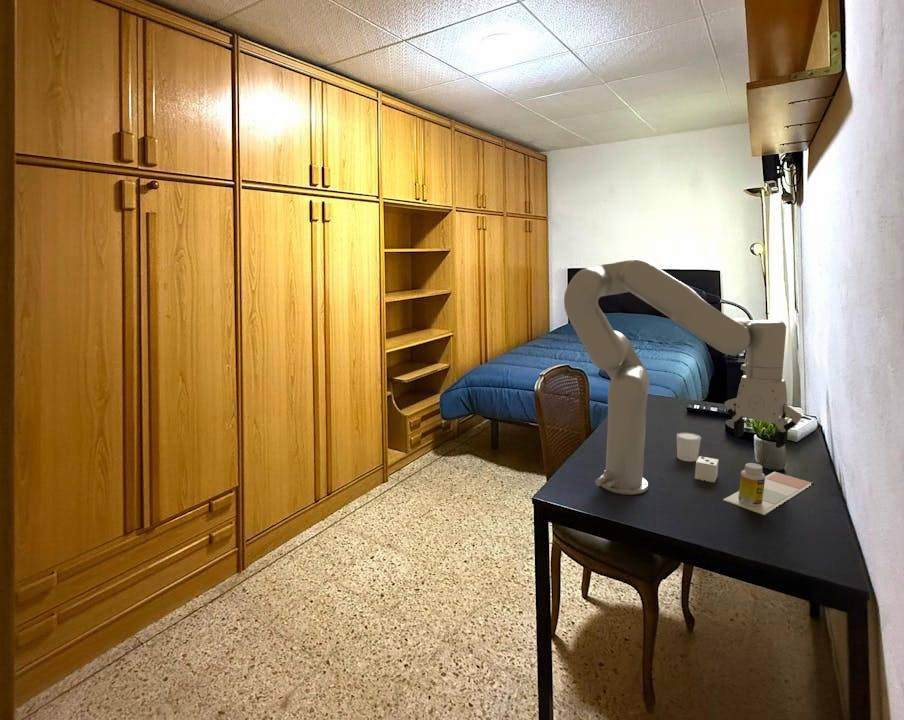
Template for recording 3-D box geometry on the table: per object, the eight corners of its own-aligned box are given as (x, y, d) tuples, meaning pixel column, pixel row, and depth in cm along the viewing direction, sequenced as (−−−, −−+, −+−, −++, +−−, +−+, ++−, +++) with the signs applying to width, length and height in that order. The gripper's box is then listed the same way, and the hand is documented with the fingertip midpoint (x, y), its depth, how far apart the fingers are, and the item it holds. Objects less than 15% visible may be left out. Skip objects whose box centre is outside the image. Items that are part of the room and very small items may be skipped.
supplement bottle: (756, 509, 133) (760, 471, 131) (734, 501, 137) (737, 465, 135) (765, 502, 136) (769, 465, 134) (743, 495, 140) (747, 459, 138)
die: (714, 482, 149) (716, 465, 148) (694, 478, 151) (696, 461, 150) (717, 476, 153) (718, 459, 152) (698, 472, 155) (699, 455, 154)
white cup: (702, 462, 162) (703, 440, 161) (677, 461, 163) (678, 439, 162) (696, 454, 169) (698, 432, 167) (672, 453, 170) (674, 431, 168)
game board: (764, 515, 130) (764, 514, 130) (722, 500, 138) (723, 499, 138) (813, 483, 147) (813, 482, 147) (774, 472, 155) (774, 471, 155)
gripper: (719, 369, 134) (716, 436, 138) (797, 381, 121) (790, 454, 124) (735, 364, 139) (731, 429, 142) (811, 375, 125) (805, 446, 128)
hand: (759, 441), depth 133 cm, fingers open, 9 cm apart
